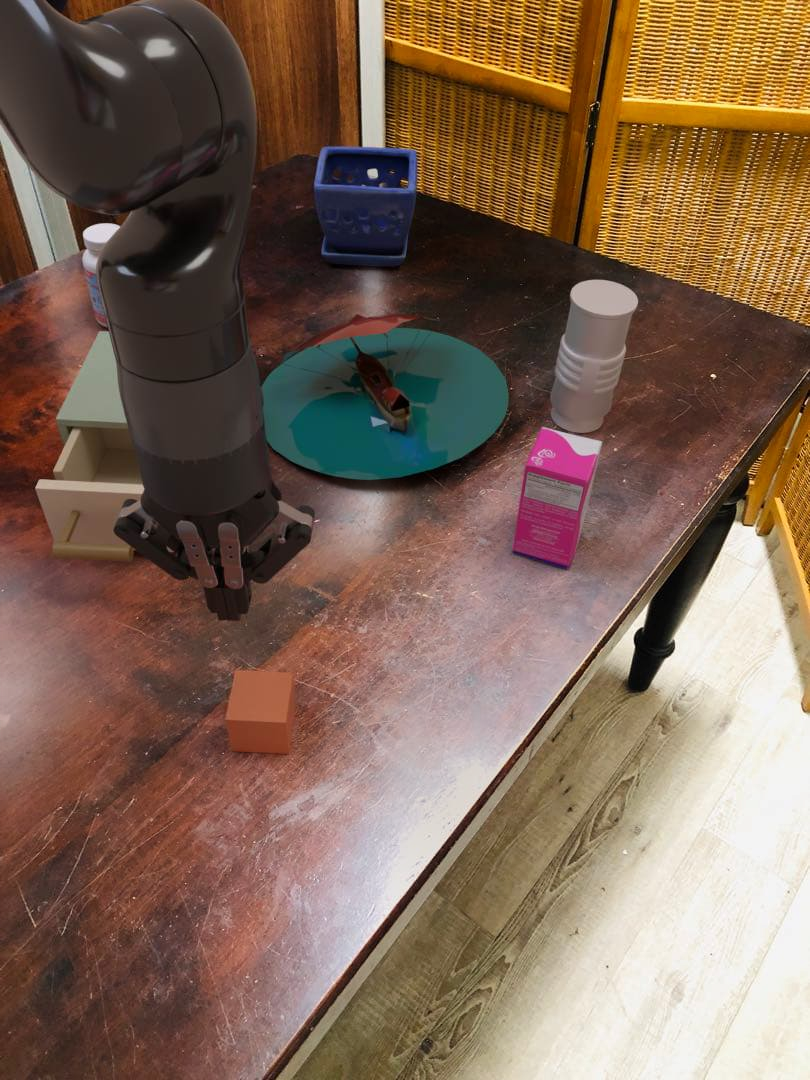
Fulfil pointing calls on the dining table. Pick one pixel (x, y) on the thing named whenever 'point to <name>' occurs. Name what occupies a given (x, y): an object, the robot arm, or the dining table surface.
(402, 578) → the dining table surface
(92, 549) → the drawer
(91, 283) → the pill bottle
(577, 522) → the supplement box
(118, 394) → the cabinet
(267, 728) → the block
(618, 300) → the grey ribbed bottle
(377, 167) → the flower pot
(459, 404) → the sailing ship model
